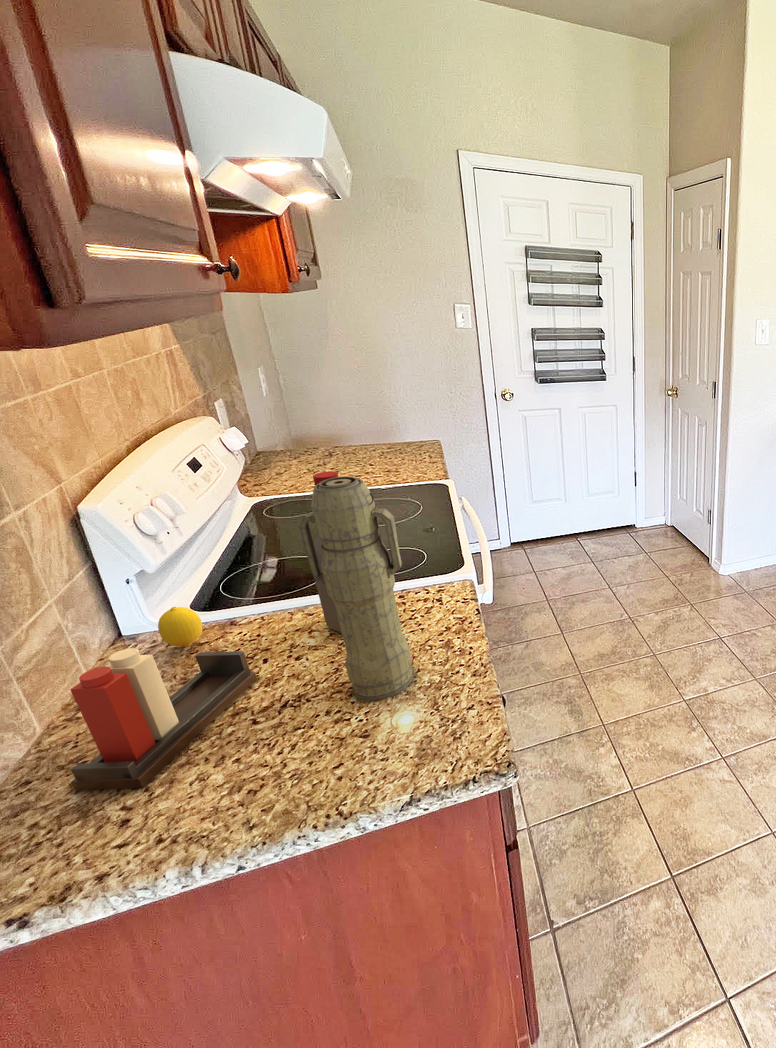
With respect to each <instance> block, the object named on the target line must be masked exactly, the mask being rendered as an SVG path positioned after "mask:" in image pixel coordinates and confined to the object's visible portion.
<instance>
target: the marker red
mask: <svg viewBox="0 0 776 1048" xmlns="http://www.w3.org/2000/svg"><path fill="white" fill-rule="evenodd" d="M78 680H79V683H78V684H76V685H74V686H73V687H72V688H70V692H71V694H72V696H73V699H74V700H75V703H76V705H77V707H78V709H79V711H80V714H81V715H82V718H83V720H84V722H85V725H86V726H87V728H88V730H89V733H90V735H91V737H92V739H93V741H94V743H95V745H96V747H97V749H98V752H99V755H100V754H101V756H102V758H103V760H104V762H105V763H107V762H131V761H134V763H135V762H136V761H137V760H138V759H139V758H140V757H141V756H142V755H144V754H145V753H146V752H147V751H148V750H149V749H150V748H151V747H153V746H154V745H155V744H156V743H155V741H154V738H153V736H152V734H151V731H150V729H149V726H148V724H147V722H146V719H145V717H144V715H143V712H142V710H141V708H140V705H139V703H138V701H137V698H136V696H135V693H134V691H133V689H132V686H131V684H130V682H129V679H128V677H127V675H126V673H120V674H113V672H112V670H111V668H110V667H104V666H99V667H95V668H92V669H89V670H87V671H85V672H83V673H82V674H80V676H79V677H78Z"/></svg>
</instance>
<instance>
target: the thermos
mask: <svg viewBox="0 0 776 1048" xmlns="http://www.w3.org/2000/svg"><path fill="white" fill-rule="evenodd" d="M310 504H311V505H310V507H311V510H312V512H307V513H306V514H305V516H304V517H303V518H302V521H301V522H300V524H299V526H298V527H299V531H300V535H301V538H302V542H303V547H304V551H305V554H306V558H307V562H308V565H309V569H310V572H311V574H312V577H313V579H314V582H315V581H321V580H322V583H323V584H326V588H327V592H328V595H329V597H330V599H331V600H332V601H333V602H334V604H335V608H336V612H337V616H338V620H339V624H340V628H341V632H342V633H341V635H342V639H343V644H344V647H345V651H346V658H345V662H344V665H345V669H346V672H347V676H348V679H349V682H350V683H351V685H352V692H353V694H354V696H355V697H356V698H357V699H360V700H363V701H364V700H365V701H377V700H382V699H386V698H389V697H391V696H394V695H397V694H399V693H400V692H402V691H403V690H404V689H406V688H407V687H408V686H409V685H410V684H411V683H412V681H413V679H414V671H413V668H412V662H413V660H412V655H411V649H410V645H409V643H408V641H407V637H406V636H405V635H404V633H403V629H402V626H401V625H402V624H401V620H400V615H399V611H398V605H397V601H396V596H395V591H394V587H395V584H396V583H395V582H396V579H395V574H397V572H398V571H399V570H400V569H401V568H402V566H403V561H402V556H401V553H400V546H399V539H398V534H397V533H398V532H397V528H396V527H397V526H396V520H395V515H394V514H393V513H391V512H390V511H389V510H388V509H387V508H385V507H378V506H377V505H376V503H375V499H374V496H373V494H372V492H371V490H370V489H369V488H368V486H367V484H366V483H365V481H364V480H363V479H361V478H358V477H354V476H338V477H336V478H330V479H327V480H324V481H322V482H320V483H319V484H317V485H315V484H314V486H313V490H312V496H311V503H310ZM378 517H379V518H380V519H381V520H382V521H383V522H384V526H385V531H386V536H387V540H388V546H389V549H388V548H387V546H386V545H385V543H384V541H383V539H382V534H380V532H379V529H380V523H379V519H378ZM309 522H311V524H315V527H316V531H317V536H318V535H319V537H320V539H321V540H322V545H321V547H322V551H323V554H322V561H321V568H322V572H321V573H320V567H319V564H318V560H317V556H316V552H315V548H314V544H313V541H314V539H313V537H312V532H311V529H310V524H309ZM389 550H390V551H389Z"/></svg>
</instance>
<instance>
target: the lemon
mask: <svg viewBox="0 0 776 1048" xmlns="http://www.w3.org/2000/svg"><path fill="white" fill-rule="evenodd" d="M157 628H158V634H159V636H160V638H161V639H162V641H163V642H164V643H166V644H168V645H170V646H174V647H183V648H184V647H185V648H188V647H190V646H191V645H192V644H193V643H194V642H196V641H197V640H198V639H199V638H200V637H201V635H202V632H203V622H202V620H201V617H200V616H199V614H197V612H195V610H193V609H191V608H188V607H185V606H184V607H183V606H180V607H177V606H173V607H171V608H170V609H169V610H167V611H165V612H164V613H163V614H162V615H161V616H160V617H159V619H158V622H157Z"/></svg>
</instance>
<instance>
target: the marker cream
mask: <svg viewBox="0 0 776 1048" xmlns="http://www.w3.org/2000/svg"><path fill="white" fill-rule="evenodd" d="M108 661H109V662H108V663H107V664H105V665H104V666H103V667H110V668H111V670H112V672H113V674H120V673H126V675H127V677H128V679H129V682H130V684H131V686H132V689H133V691H134V693H135V696H136V698H137V701H138V703H139V705H140V708H141V710H142V712H143V715H144V717H145V719H146V722H147V724H148V726H149V729H150V731H151V734H152V736H153V738H154V740H160V739H162V738H163V737H164V736H165V735H166V734H167V733H168V732H169V731H171V730H172V729H173V728H174V727H175V726H176V725H177V724H178V723H179V721H178V718H177V716H176V713H175V711H174V708H173V706H172V703H171V700H170V698H169V697H170V696H169V693H168V691H167V687H166V685H165V683H164V681H163V678H162V676H161V673H160V671H159V668H158V666H157V663H156V660H155V658H154V655H153V654H141V652H140V650H139V649H138V648H136V647H130V648H125V649H121V650H118V651H116V652H114V653H112V654H111V655H109V657H108Z"/></svg>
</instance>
